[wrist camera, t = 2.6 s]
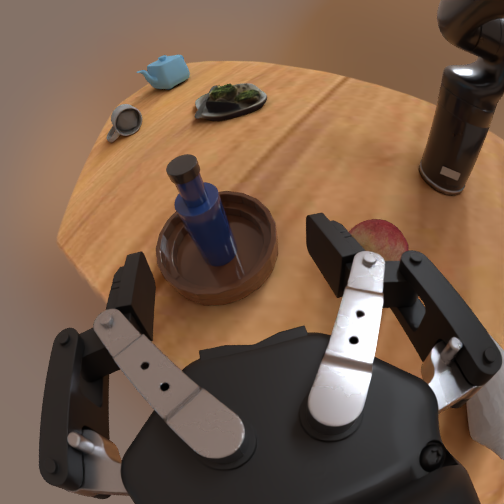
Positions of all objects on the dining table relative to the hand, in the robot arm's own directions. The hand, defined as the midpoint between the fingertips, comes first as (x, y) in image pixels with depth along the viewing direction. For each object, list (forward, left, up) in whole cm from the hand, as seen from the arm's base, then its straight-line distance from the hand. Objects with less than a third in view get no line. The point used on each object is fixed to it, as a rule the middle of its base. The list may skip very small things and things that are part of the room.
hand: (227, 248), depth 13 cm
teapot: (-67, -55, -20) cm, 89 cm away
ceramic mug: (-39, -51, -20) cm, 67 cm away
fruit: (-12, +9, -20) cm, 25 cm away
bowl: (-10, -10, -19) cm, 24 cm away
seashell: (+1, +27, -20) cm, 34 cm away
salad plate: (-50, -25, -20) cm, 59 cm away
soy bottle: (-10, -10, -19) cm, 23 cm away
